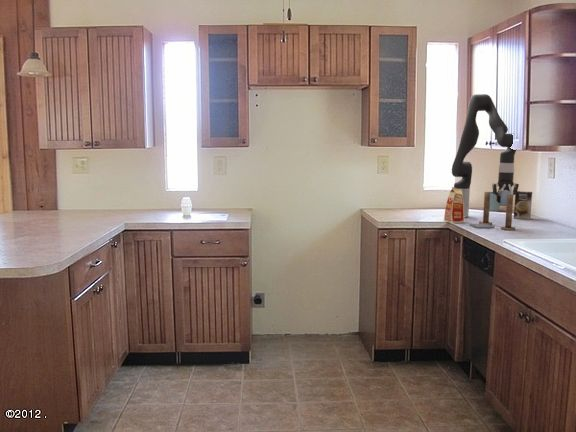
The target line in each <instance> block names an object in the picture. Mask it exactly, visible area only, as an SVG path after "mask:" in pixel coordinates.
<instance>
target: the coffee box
mask: <svg viewBox="0 0 576 432" xmlns="http://www.w3.org/2000/svg"><path fill="white" fill-rule="evenodd" d="M532 199H533V191H523V190H522V191H521V190H517V194H516V195H514V206H513V207H514V208H513V219H516V220H528V221H529V220H530V219H531V218H532V217H531V214H532V202H533V201H532Z"/></svg>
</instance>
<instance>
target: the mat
mask: <svg viewBox="0 0 576 432" xmlns="http://www.w3.org/2000/svg"><path fill="white" fill-rule="evenodd" d="M469 226H470V227H472V228H474V229H495V226H494V225H493V224H492V225H489V224H479V223H469Z"/></svg>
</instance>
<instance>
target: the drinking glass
mask: <svg viewBox="0 0 576 432" xmlns="http://www.w3.org/2000/svg"><path fill="white" fill-rule="evenodd" d="M489 192H490V208H489V212H492V211H493V213H494V212H495V211H497V212H500V207H501V206H499V203H498V202H497V201H496V200H497V195H495V194H493V191H489Z"/></svg>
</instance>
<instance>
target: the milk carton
mask: <svg viewBox="0 0 576 432" xmlns="http://www.w3.org/2000/svg"><path fill="white" fill-rule="evenodd" d="M443 216H444V217H443V221H444V222H447V223H450V224H457V223H465V217H464V200H463V193H462V189H457V188H454V186H451V190H450V191H449V194H448V197H447V201H446V205H445V210H444V215H443Z"/></svg>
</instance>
